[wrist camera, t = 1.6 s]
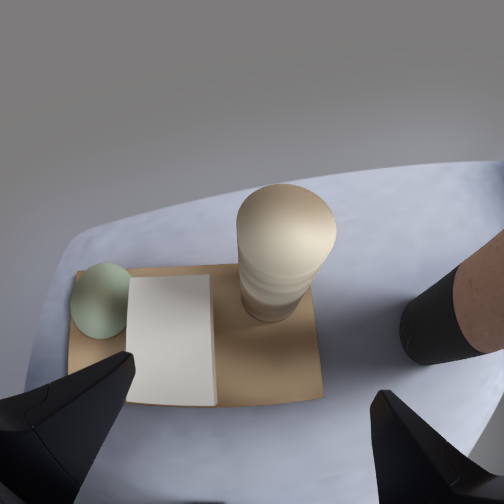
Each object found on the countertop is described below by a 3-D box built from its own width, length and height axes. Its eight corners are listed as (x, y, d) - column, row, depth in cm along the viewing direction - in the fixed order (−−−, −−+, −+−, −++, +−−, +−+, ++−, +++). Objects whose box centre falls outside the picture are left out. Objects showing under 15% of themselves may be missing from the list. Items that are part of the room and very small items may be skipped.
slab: (220, 401, 19) (214, 405, 15) (146, 399, 19) (126, 401, 15) (215, 292, 23) (209, 274, 19) (147, 294, 23) (130, 277, 19)
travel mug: (442, 287, 24) (575, 172, 7) (460, 353, 21) (618, 279, 3) (388, 302, 24) (547, 160, 6) (406, 378, 20) (606, 317, 3)
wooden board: (320, 397, 20) (324, 397, 19) (74, 393, 19) (65, 393, 18) (302, 259, 26) (305, 251, 24) (83, 270, 25) (76, 264, 23)
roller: (302, 320, 22) (345, 265, 12) (242, 325, 22) (238, 273, 12) (294, 266, 24) (325, 183, 14) (239, 269, 24) (234, 185, 14)
